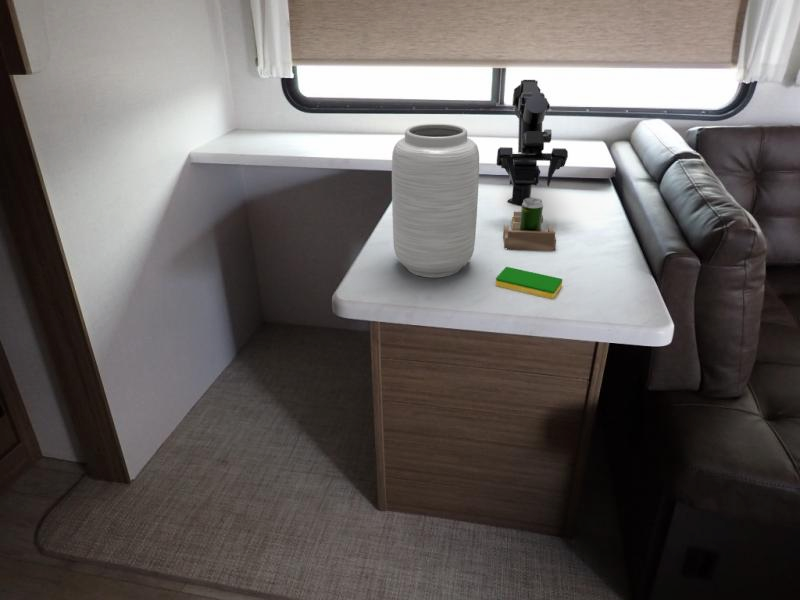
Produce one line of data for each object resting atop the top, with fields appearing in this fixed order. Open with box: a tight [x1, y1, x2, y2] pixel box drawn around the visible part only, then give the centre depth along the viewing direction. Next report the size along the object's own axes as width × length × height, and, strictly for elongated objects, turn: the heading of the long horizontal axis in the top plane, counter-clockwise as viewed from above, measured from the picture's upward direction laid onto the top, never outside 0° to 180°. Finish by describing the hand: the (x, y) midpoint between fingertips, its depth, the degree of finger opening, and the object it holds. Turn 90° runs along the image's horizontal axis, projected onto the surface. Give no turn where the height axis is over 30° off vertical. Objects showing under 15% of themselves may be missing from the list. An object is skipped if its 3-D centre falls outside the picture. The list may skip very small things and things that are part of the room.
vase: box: [391, 123, 480, 279], centre depth 136 cm, size 20×20×34 cm
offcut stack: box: [510, 211, 544, 231], centre depth 163 cm, size 5×8×4 cm, turn 83°
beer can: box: [520, 197, 544, 231], centre depth 153 cm, size 5×5×12 cm
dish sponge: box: [495, 266, 563, 300], centre depth 134 cm, size 7×14×2 cm, turn 60°
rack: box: [502, 224, 557, 252], centre depth 155 cm, size 10×13×5 cm
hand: (531, 185), depth 156 cm, fingers open, 9 cm apart
